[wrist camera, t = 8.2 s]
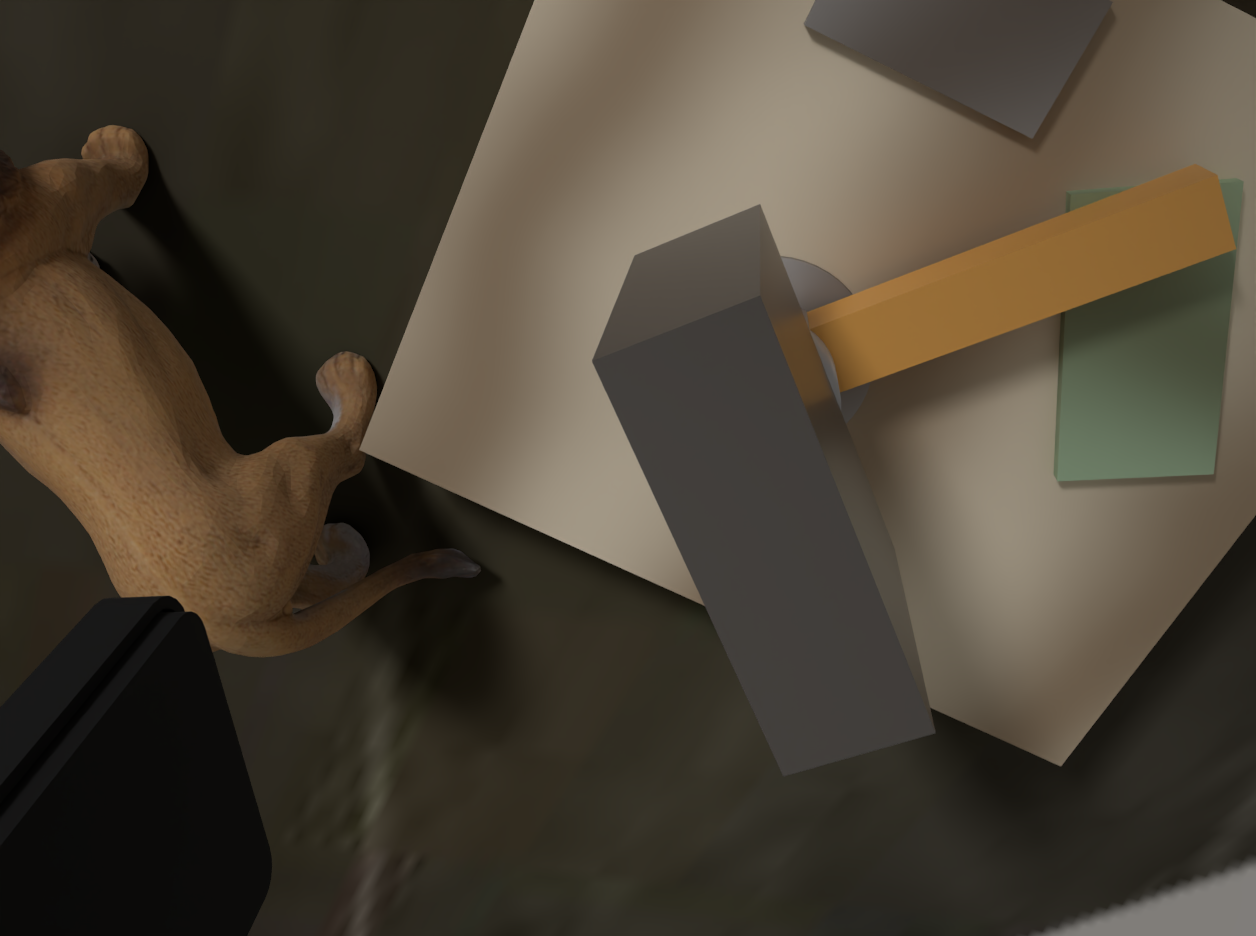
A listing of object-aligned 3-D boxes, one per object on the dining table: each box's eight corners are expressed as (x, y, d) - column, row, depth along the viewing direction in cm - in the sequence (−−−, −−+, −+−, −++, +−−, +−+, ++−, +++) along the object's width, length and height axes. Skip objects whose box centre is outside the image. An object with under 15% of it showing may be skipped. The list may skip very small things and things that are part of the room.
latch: (771, 529, 22) (776, 778, 15) (641, 226, 20) (583, 364, 13) (1248, 367, 20) (1489, 576, 13) (1155, 12, 18) (1385, 51, 11)
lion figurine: (-156, 189, 24) (-626, 314, 16) (-36, -26, 22) (-501, -10, 14) (417, 631, 27) (266, 929, 19) (566, 473, 25) (473, 731, 17)
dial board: (395, 403, 25) (354, 456, 22) (663, -267, 20) (648, -300, 17) (1034, 694, 26) (1064, 775, 23) (1445, 136, 21) (1541, 163, 18)
